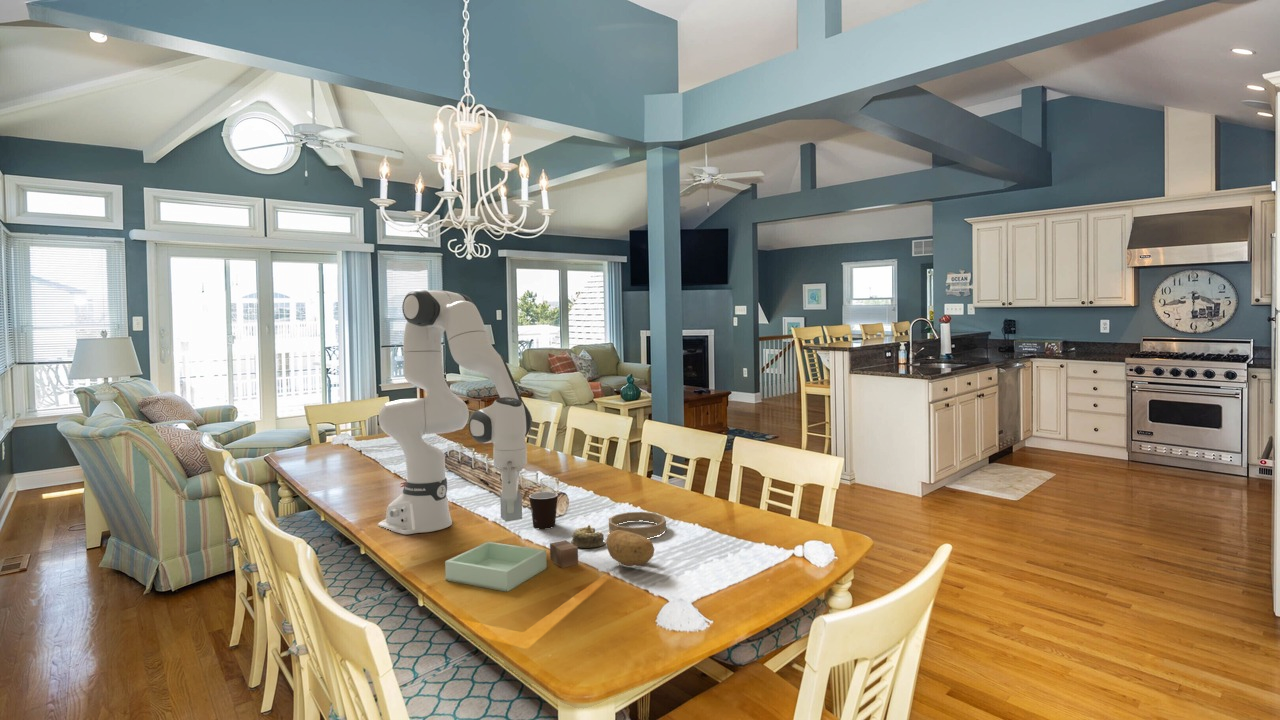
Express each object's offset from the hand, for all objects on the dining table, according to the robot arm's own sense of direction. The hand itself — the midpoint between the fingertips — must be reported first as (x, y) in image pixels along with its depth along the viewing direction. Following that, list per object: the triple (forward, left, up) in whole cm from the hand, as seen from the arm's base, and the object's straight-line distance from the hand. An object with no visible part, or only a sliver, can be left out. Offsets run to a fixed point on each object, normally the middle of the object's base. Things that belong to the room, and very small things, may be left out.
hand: (511, 508), depth 173 cm
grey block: (0, 0, -3) cm, 3 cm away
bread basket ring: (+25, +28, -11) cm, 39 cm away
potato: (+35, +2, -12) cm, 37 cm away
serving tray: (+8, -16, -11) cm, 21 cm away
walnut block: (+15, -1, -9) cm, 18 cm away
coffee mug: (-4, +22, -12) cm, 25 cm away
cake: (+17, +13, -12) cm, 24 cm away
